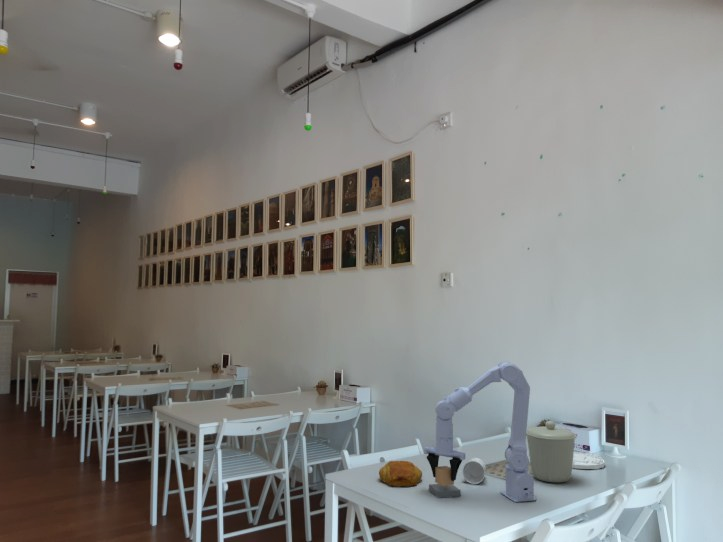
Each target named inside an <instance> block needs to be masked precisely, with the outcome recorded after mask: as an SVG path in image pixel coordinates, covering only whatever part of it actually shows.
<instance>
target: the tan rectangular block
mask: <svg viewBox="0 0 723 542" xmlns="http://www.w3.org/2000/svg"><path fill="white" fill-rule="evenodd" d="M434 478H435V479H434V482H435V484H440V485H442V486H446V485H455V480H454V481H451V466H447V465H442V466H441V465H440V466H439V465H438V467H435V477H434Z"/></svg>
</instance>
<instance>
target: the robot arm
mask: <svg viewBox="0 0 723 542" xmlns="http://www.w3.org/2000/svg"><path fill="white" fill-rule="evenodd" d="M502 380H503V381H504V382H506V383H507V384H508V385H509V386H510V387H511V388H512V390H513V391H514V392H513V393H514V394H513V405H512V416H511V427H510V428H511V429H510V437H509V440H508V446H507V447H506V449H505V451H504V459H505V460H506V461H507V463H506V465H505V490H504V491H500V494H502V495H503V496H504V497H506V498H508V499H510V501H513V502H515V503H517V502H531V501H537V498H536V497H535V493H534V492H535V491H534V490H535V484H534V483H535V482H534V478H533V476H531V474H530V473H529V468H528V466H529V463H530V458H529V456H528V453H527V451H528V448H527V441H526V439H527V435H526V431H527V430H528V417H529V406H530V405H529V404H530V395H531V393H530V392H531V387H530V383H528V381H527V379H526V377H525V375H524V372H523V371H522V369H521V368H519V367H518V366H517V365H516V364H514V363H511V362H510V361H508V360H507V361H501V362H499V363H498V364H497V365H495V366H492V367H491V368H489V369H488V370H487V371H486V372H484V373H483V374H481V376H479V377H478V378H477V379H476V380H474V381H473V382H472V383H471V384H469V385H468V386H467V387H466V386H460V387H456V388H454V391H453V392H452V393H451V394H449V395H448V396H444V397H443V400H440V401H438V402H437V403H436V405H435V414H436V418H435V420H436V423H435V447H431V446H426V447H424V448H423V450H424V451H423V453H424V455H425V454H426V460H427V461H428V463H429V466H430V468H431V472H432V476H433V477H432V478H435V467H439V461H440V456H441V457H446V458H450V459H449V464H450V466H449V467H450V468H451V481H454V482H455V481H456V479H457V475H458V471H459V469H460V466H461V464H462V462H463V461H465V460H466V452H461V451H458V450H455V449H454V424H453V417H454V415H455V412H458V411H460V410H461V409H462V408H464V407H465V406H467V405H468V404H469V403H471V402H472V401H473V396H474V395H475V394H477V393H478V392H480V391H481V390H483V389H484V388H486V387H487V386H489V385H490V384H491V383H502V382H503V381H502Z"/></svg>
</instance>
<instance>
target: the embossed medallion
mask: <svg viewBox="0 0 723 542" xmlns="http://www.w3.org/2000/svg"><path fill="white" fill-rule="evenodd" d="M605 463H606V462H605V460H604V459H603V457H602V456H601V455H598V454H594V453H588V452H585V453H584V452H582V451H581V452H580V451H578V452H576V451H574V453H573V464H572V470H574V469H579V470H580V469H581V470H594V471H595V470H600V469H602V468H605V466H606V465H605Z"/></svg>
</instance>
